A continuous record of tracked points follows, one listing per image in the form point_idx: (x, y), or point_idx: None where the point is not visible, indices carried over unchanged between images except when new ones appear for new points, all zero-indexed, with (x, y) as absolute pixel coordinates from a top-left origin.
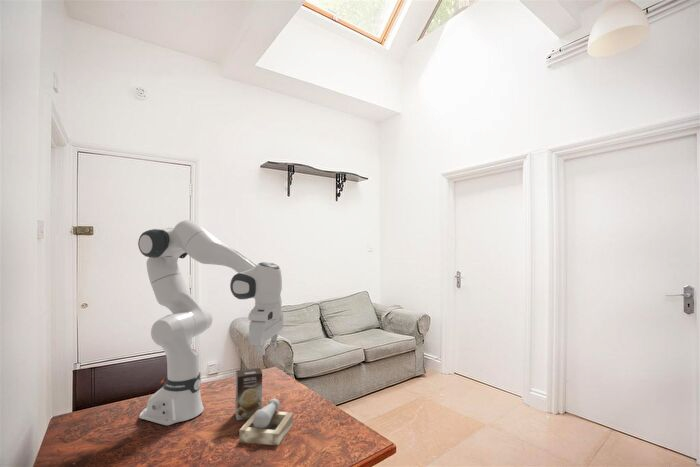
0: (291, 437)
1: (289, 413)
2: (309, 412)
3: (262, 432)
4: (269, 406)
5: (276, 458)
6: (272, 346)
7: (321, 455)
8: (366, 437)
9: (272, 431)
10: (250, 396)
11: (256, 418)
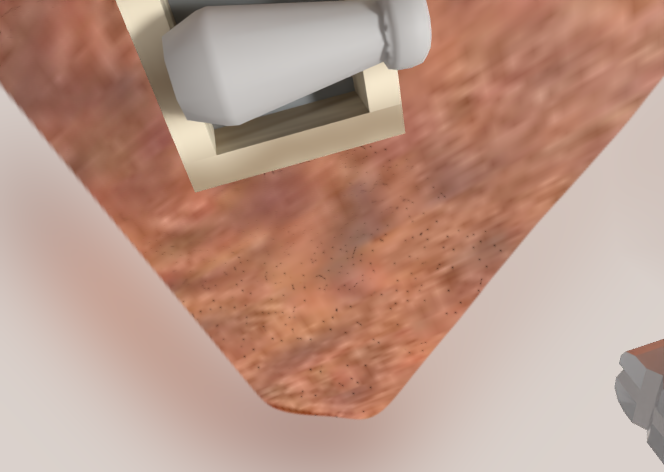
0: (284, 168)
1: (392, 120)
2: (508, 118)
3: (161, 110)
4: (319, 70)
5: (124, 204)
6: (626, 371)
7: (235, 318)
8: (391, 370)
9: (198, 152)
10: None
11: (169, 74)
